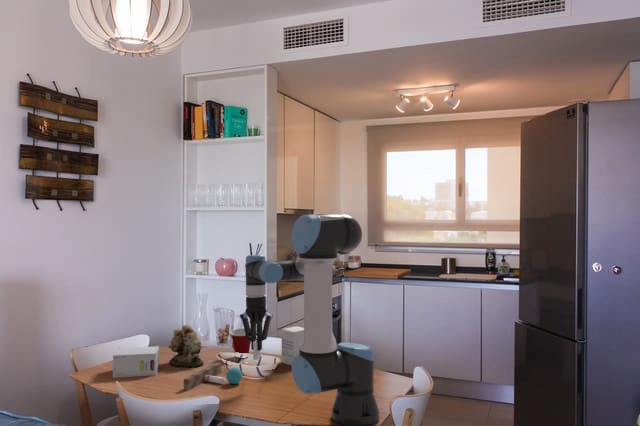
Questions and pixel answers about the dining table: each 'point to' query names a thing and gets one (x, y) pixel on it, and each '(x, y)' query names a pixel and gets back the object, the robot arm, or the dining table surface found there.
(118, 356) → the supplement box
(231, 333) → the plastic cup
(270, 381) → the dining table surface
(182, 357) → the brown lumpy figure
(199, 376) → the stopper wall
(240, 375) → the ball
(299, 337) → the supplement box
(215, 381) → the pin
